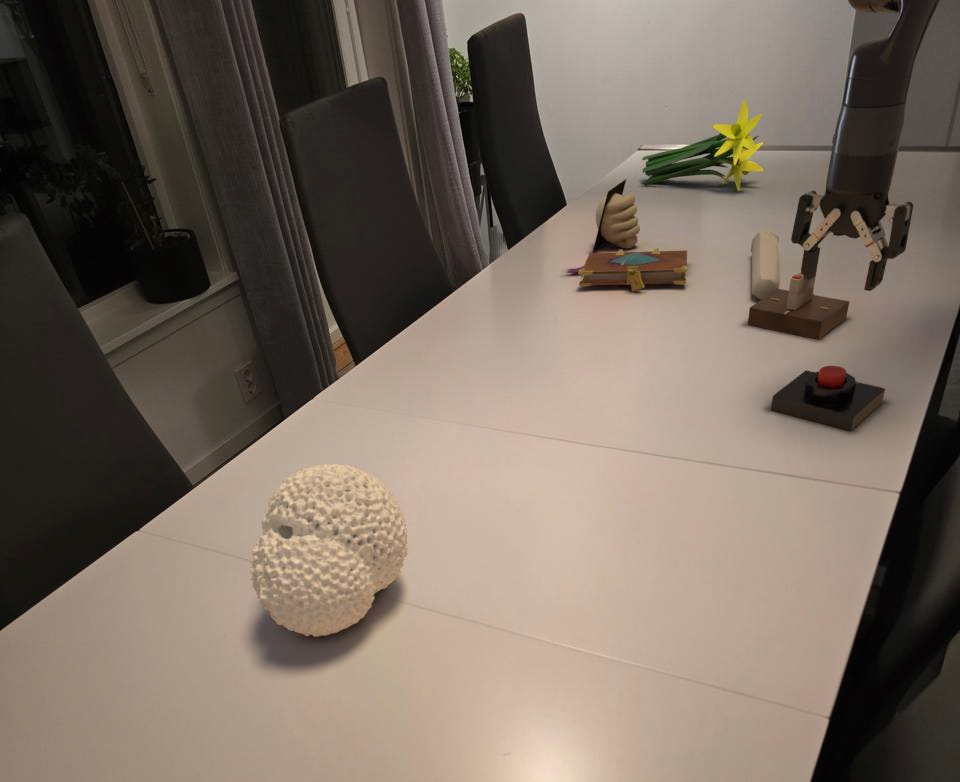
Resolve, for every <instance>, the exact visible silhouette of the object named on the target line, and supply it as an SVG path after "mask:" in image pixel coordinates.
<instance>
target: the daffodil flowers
mask: <svg viewBox="0 0 960 782" xmlns="http://www.w3.org/2000/svg"><path fill="white" fill-rule="evenodd" d="M762 117H763V113H759V114H757V115H755V116H753V117H752V118H750V119H749V109H748V103H747V100H746V98H744V99H743V101H742V104H741V107H740V110H739V113H738V117H737V120H736V122H735V123H733V124H724V123H721V124H720V123H719V124H718V123H716V124H712V125H711V127H712V128H714V130H716V131H717V132H719V133H718V134H717V135H714V136H711V137H708V138H706V139H703V140H700V141H697V142H694V143H692V144H689V145H685V146H683V147H679V148H675V149H670V150H665V151H661V152H657V153H653V154H649V155H645V156H643V157H642V158H641V161H645V167H643V168H642V170H641V171H642V173H643V174H644V173H645V176H647V177H648V178H647V179H644V181H643V185H644V186H645V187H647V186H649V185H653V184H657V183H660V182H664V181H666V180H669V179H674V178H675V179H676V178H681V177H683V178H684V177H693V176H717V177H719V178H721V179H723V182H722V185H724V184H726V182H727V181H728V180H729V179H730V178H731V177H732V176H733V178H734V183H735V186H736V189H737V191H738V192H740V190H741V181H742V175H743V176H747V175H749V174H750V172H763V171H764V169H763V168H762V167H761V166H760V165H759V164H758V163H756V162H755V161H752V160H749V159H750V158H751V157H752V156H753V155H754V154H755V153H756V152H757V151H758V150H759V149H760V148H761V146H762V145H763V144H764V142H763V141H762V142H757V143H755V140H756V139H757V138H758V137H759V135H756V136H754V137H752V136H751V134H750V133H751V132H752V130H754V129H755V128H756V127H757V125H758V124H759V123H760V121H761V118H762ZM748 119H749V120H748ZM703 155H704V156H703ZM699 156H702V157H699ZM695 157H696V158H695ZM686 159H687V160H686ZM646 160H647V161H646ZM725 164H728V165H730V167H731V168H730V169H729V170H728V172H727V175H724V174H723V173H721V172H720V171H717V170H714V169H709V168H711V167H718V168H728V166H727V165H725ZM707 168H708V169H707Z"/></svg>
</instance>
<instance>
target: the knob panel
mask: <svg viewBox="0 0 960 782" xmlns="http://www.w3.org/2000/svg"><path fill="white" fill-rule="evenodd" d="M788 294H789V289H781V288H779V289H777V290H776V291H774V292H773V293H771V294H770V295H768V296H767V297H765V298H764V299H762V300H759V301H758V302H755V303H754V304H753V305H751V306H750V307H749V310H748V319H747V325H749V326H753V327H758V328H763V329H766V330H767V329H768V330H772V331H777V332H781V333H786V334H792V335H796V336H801V337H806V338H811V339H815V340H820V339H821V338H822V337H824V336H825V335H827V334H828V333H829V332H831V331H832V330H834V329H835V328H836V327H837V326H839V325H840V324H841V323H843V322H844V321H846V319H847V317H848V312H849V307H850V301H849V300H844V299H838V298H832V297H826V296H823V295H822V296H821V295H816V294H815V293H813V296H812V299H811V300H810V301H808V302H807V303H805V304H804V305H802V306H801V307H799V308H798V309H796V310H790V309H786V308H787V301H788Z"/></svg>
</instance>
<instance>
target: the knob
mask: <svg viewBox="0 0 960 782" xmlns="http://www.w3.org/2000/svg"><path fill="white" fill-rule="evenodd" d="M817 271H818V270H817ZM817 271H816V273H817ZM803 276H804V275H803V274H801V271H800V272H799V273H797V274H794V275H792V277H791V278H790V282H789V289H788V291H789V294H788V301H787V308H786V309H790V310H796V309H798V308H799V307H801V306H802V305H804V304H805V303H807V302H808V301H810V300H811V299H812V296H813V294H814V290H815V283H816V278H817V274H816V275H815V277H813V278H812V279H810V280H805V279H803Z"/></svg>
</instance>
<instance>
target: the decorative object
mask: <svg viewBox="0 0 960 782" xmlns="http://www.w3.org/2000/svg"><path fill="white" fill-rule="evenodd" d="M626 182H627V178H625V179H624V180H622V181H621V182H620V183H618V184H617V185H615V186H614V187H612V188H611V189H609V190H608V191H607V193H606V195H605V196H603V197H602V198H601V200H600V201H599V202H598V204H597V207H596V212H595V223H596V228H597V233H596V237H595V241H594V245H593V249H592V253H595V252H596V251H597V250H599V249H600V248H601V247H602V246H604V245H605V244H606V243H607V242H609V243H611V244H612V245H614V246H617V247H618V248H622V249H631V248H633V247H634V246H636V245H637V243H638V236H637V235H638V234H639V233H640V232H641V226H640V225H639V218H638V217H637V216H635V215H636V214H637V212H638V206H637V205H636V204H635V202H636V197H635V195H634V194H632V193H628V194H626V195H623V193H624V191H625V187H626Z"/></svg>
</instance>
